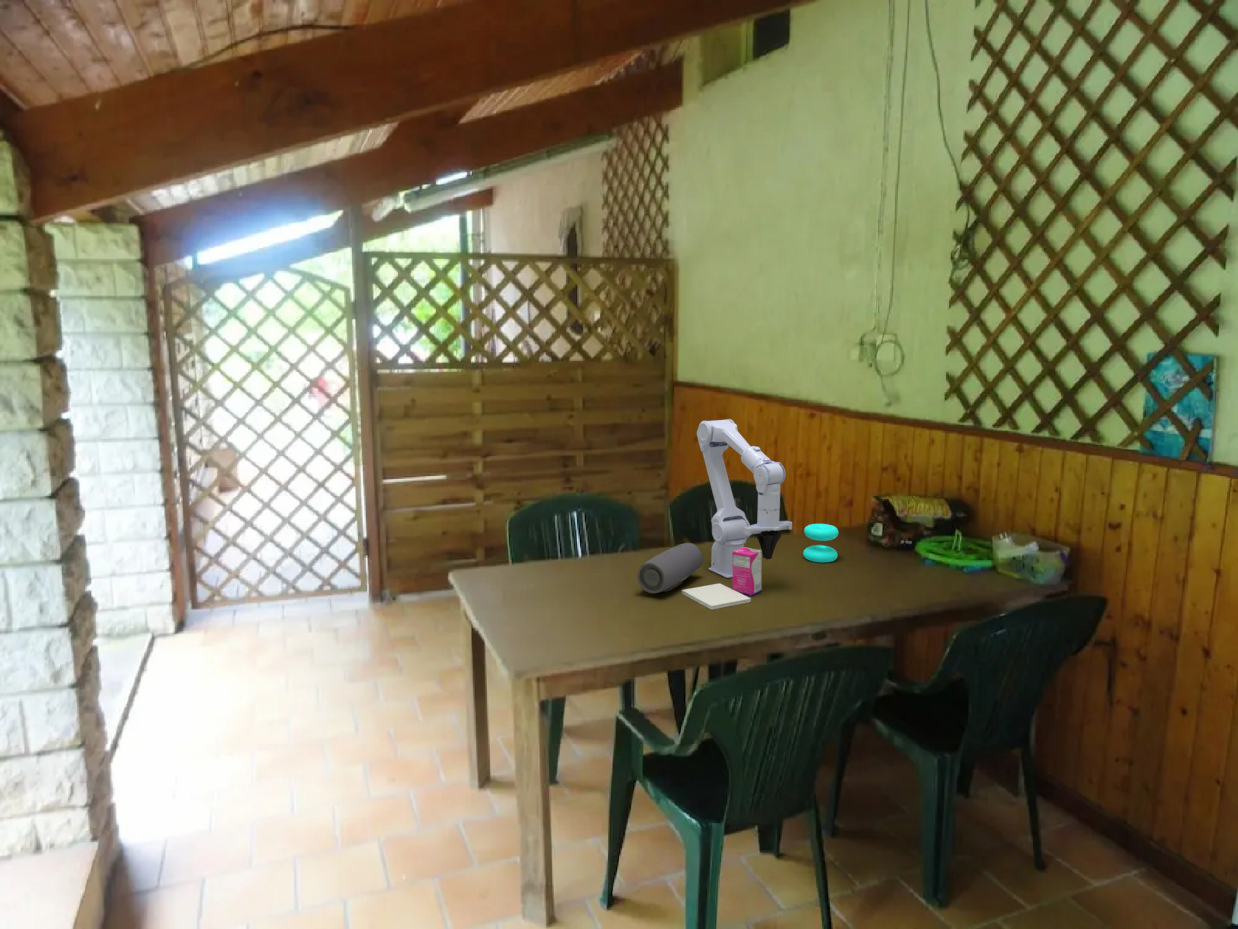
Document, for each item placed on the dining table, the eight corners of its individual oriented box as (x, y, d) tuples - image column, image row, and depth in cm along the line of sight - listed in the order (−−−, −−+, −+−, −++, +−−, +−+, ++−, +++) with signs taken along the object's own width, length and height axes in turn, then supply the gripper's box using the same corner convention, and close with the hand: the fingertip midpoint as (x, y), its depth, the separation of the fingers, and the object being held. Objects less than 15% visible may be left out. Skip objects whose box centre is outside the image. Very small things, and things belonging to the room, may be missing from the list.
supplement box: (742, 587, 222) (743, 546, 220) (762, 591, 218) (763, 550, 217) (731, 592, 218) (732, 550, 216) (750, 597, 214) (751, 554, 212)
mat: (681, 593, 217) (681, 590, 217) (719, 586, 223) (719, 583, 222) (711, 609, 205) (711, 606, 205) (750, 602, 210) (750, 598, 210)
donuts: (845, 528, 244) (818, 532, 240) (844, 561, 246) (817, 565, 242) (824, 521, 253) (797, 524, 249) (822, 552, 255) (796, 556, 251)
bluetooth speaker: (674, 572, 236) (674, 538, 234) (704, 577, 231) (704, 543, 229) (635, 595, 216) (635, 558, 215) (666, 601, 212) (666, 563, 210)
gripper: (755, 514, 211) (754, 565, 213) (800, 508, 217) (798, 558, 219) (739, 509, 217) (738, 559, 219) (783, 503, 223) (781, 551, 226)
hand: (767, 558), depth 220 cm, fingers closed
